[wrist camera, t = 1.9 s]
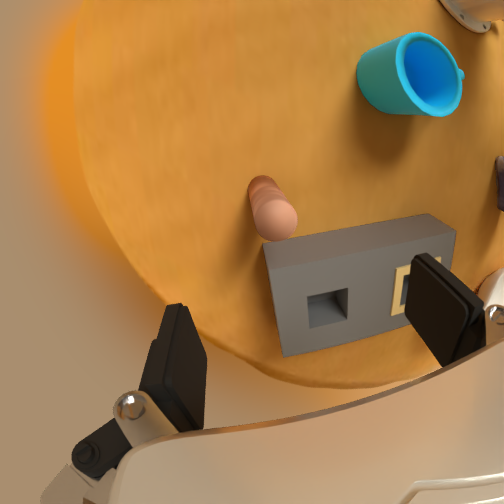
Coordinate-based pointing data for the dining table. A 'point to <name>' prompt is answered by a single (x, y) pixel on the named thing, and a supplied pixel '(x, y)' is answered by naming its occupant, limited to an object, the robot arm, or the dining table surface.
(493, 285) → the spoon rest
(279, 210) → the pin
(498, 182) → the flask
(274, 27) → the dining table surface
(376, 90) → the mug
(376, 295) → the bore block
